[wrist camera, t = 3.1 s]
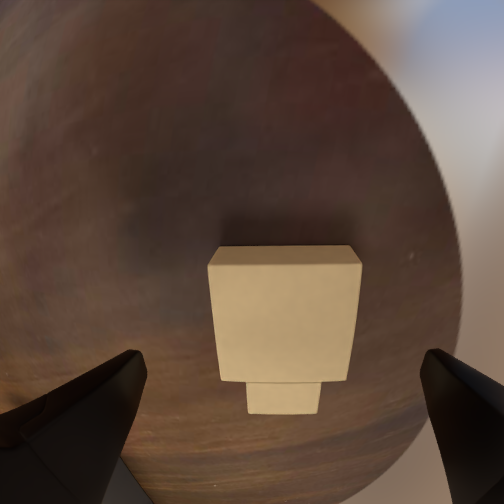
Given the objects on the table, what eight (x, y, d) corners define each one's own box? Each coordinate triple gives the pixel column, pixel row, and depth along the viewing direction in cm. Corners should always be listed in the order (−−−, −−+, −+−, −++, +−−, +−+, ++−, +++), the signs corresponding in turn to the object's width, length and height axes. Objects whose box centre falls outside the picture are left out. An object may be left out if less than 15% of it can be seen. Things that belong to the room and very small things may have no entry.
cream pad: (350, 244, 11) (363, 263, 9) (334, 383, 13) (339, 412, 11) (218, 245, 12) (206, 264, 10) (231, 383, 14) (225, 412, 12)
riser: (118, 454, 18) (83, 529, 10) (162, 514, 22) (146, 567, 15) (21, 416, 19) (-17, 467, 12) (77, 486, 24) (55, 529, 16)
